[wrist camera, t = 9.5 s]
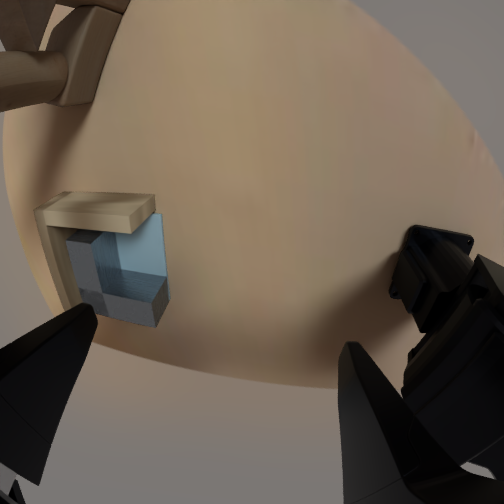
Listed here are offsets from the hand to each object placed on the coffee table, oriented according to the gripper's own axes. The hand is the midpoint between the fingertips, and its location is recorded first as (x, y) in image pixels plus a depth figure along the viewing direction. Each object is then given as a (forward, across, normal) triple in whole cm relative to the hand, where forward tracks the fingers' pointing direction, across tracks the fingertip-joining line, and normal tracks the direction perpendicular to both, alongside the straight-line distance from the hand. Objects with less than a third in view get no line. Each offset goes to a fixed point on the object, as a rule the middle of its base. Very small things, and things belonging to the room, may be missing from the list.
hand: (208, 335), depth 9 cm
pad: (+12, +10, +5) cm, 17 cm away
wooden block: (+12, +12, -13) cm, 22 cm away
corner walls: (+12, +11, +5) cm, 17 cm away
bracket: (+12, +10, +6) cm, 17 cm away
